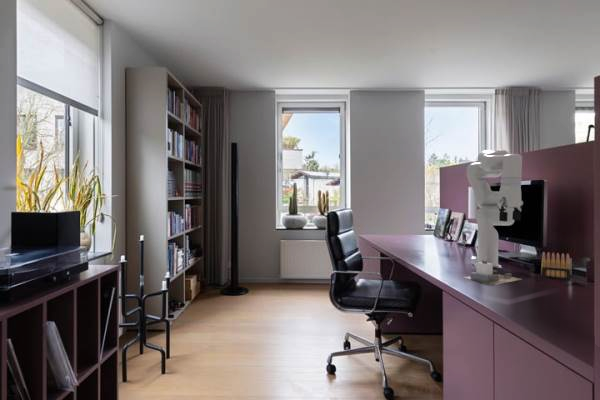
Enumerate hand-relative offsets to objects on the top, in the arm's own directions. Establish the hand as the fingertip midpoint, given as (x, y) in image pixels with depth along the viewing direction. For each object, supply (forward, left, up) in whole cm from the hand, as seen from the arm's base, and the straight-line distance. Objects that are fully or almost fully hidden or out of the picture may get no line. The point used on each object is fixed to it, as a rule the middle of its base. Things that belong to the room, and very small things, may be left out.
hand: (509, 220), depth 148 cm
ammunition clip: (+9, +21, -27) cm, 35 cm away
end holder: (-1, -17, -25) cm, 30 cm away
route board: (-1, -11, -26) cm, 29 cm away
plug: (-1, -17, -25) cm, 30 cm away
